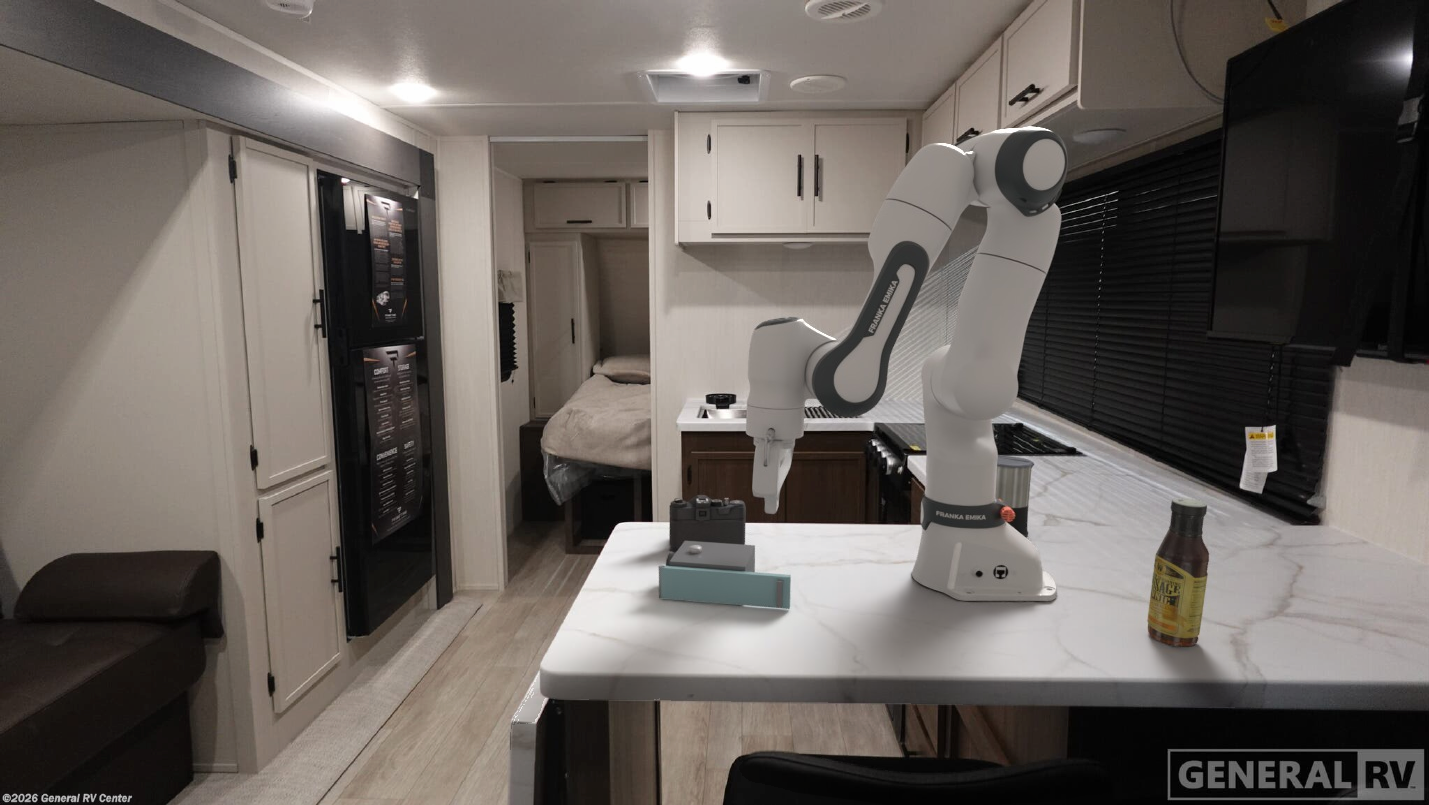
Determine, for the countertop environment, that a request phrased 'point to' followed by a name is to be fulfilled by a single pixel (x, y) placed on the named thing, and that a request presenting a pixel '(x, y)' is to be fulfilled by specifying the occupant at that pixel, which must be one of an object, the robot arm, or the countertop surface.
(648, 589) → the countertop surface
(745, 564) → the camera housing
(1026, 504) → the milk frother
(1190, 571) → the sauce bottle
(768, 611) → the countertop surface
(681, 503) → the camera
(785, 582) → the side door
